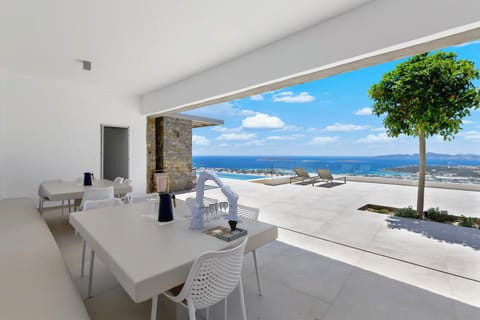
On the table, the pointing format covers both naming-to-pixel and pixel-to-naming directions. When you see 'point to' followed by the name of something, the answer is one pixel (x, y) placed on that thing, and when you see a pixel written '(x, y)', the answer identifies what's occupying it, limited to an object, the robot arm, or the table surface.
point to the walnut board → (223, 229)
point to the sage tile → (235, 232)
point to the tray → (228, 239)
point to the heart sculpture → (190, 203)
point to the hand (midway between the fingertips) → (232, 231)
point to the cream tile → (217, 232)
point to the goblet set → (215, 207)
